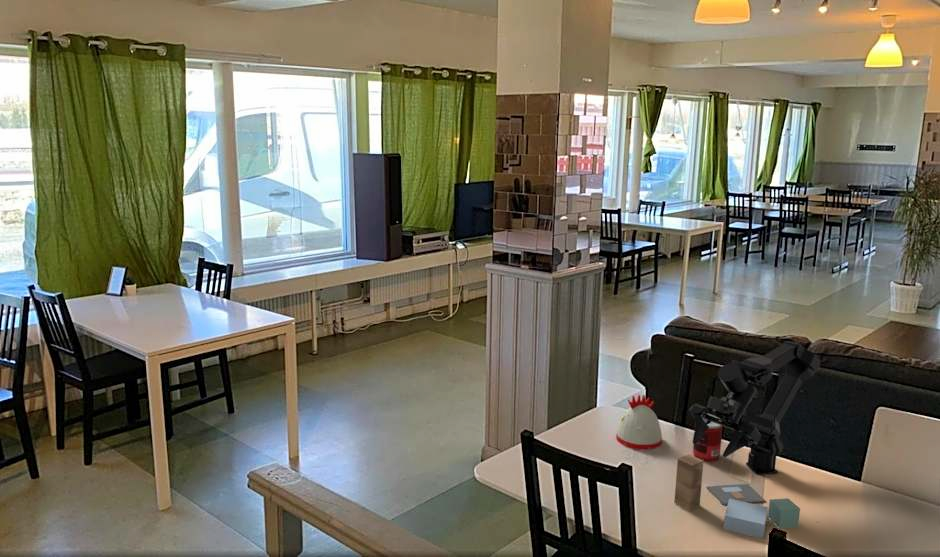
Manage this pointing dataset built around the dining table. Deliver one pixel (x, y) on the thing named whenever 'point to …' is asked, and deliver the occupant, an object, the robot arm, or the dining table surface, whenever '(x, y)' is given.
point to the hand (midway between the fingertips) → (708, 449)
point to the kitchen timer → (639, 426)
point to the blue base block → (745, 518)
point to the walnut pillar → (688, 481)
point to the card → (735, 493)
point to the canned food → (709, 443)
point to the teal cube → (784, 513)
